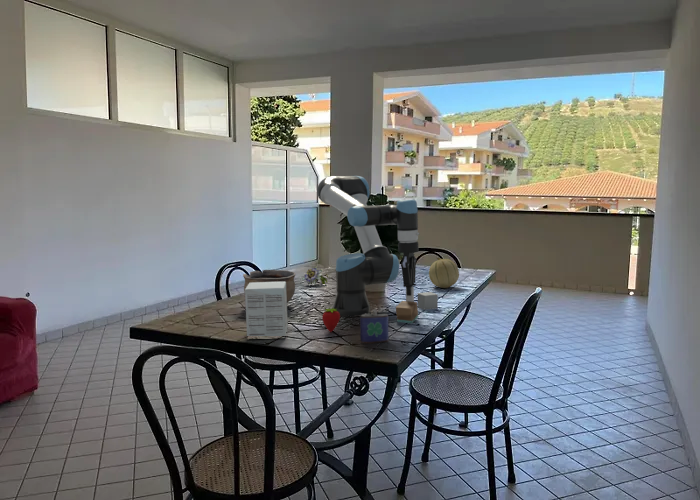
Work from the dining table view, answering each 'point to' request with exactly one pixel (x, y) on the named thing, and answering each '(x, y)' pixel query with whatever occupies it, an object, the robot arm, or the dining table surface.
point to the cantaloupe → (443, 273)
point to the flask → (374, 328)
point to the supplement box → (266, 309)
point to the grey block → (427, 300)
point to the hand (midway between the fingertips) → (410, 303)
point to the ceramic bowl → (273, 279)
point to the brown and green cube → (407, 311)
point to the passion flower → (314, 276)
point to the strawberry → (331, 318)
